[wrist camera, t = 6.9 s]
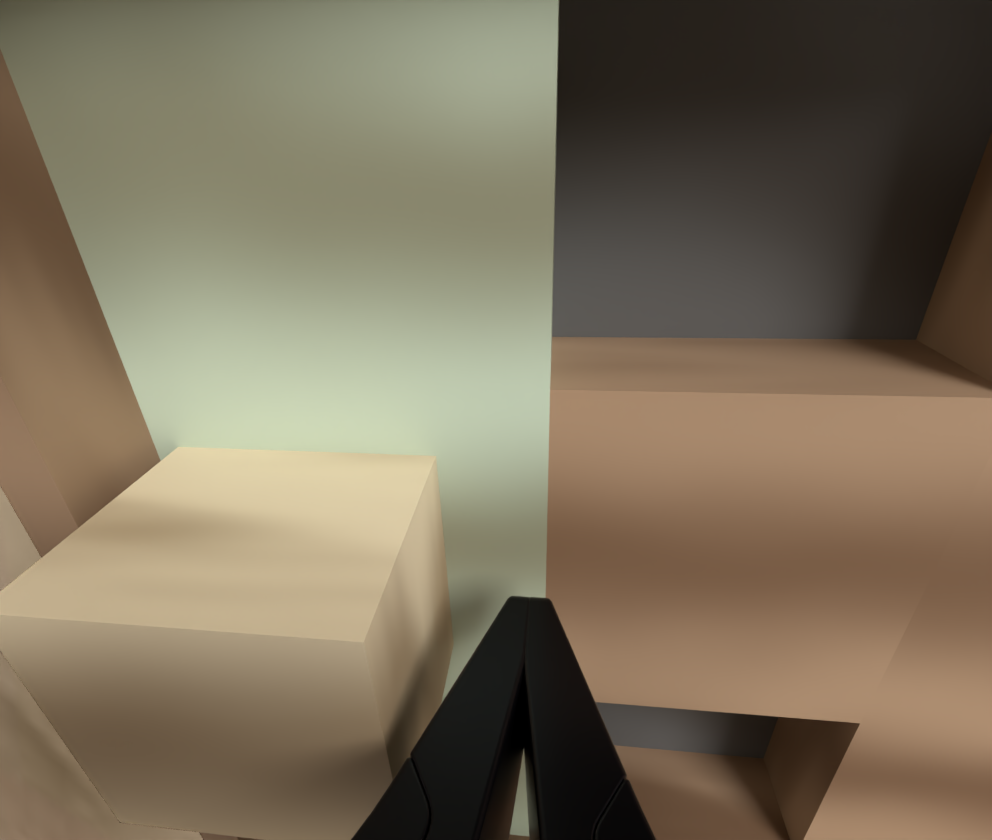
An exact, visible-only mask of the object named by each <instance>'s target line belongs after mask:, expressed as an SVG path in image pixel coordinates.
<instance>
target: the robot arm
mask: <svg viewBox="0 0 992 840" xmlns="http://www.w3.org/2000/svg"><path fill="white" fill-rule="evenodd" d="M523 750H524V758H525V774H526V791H527V807H528V824H529V840H656V838H655V836H654V834H653V832H652V829H651V827H650V825H649V823H648V821H647V819H646V817H645V814H644V812H643V810H642V808H641V806H640V804H639V801H638V799H637V797H636V794H635V792H634V790H633V787H632V785H631V783H630V781H629V780H628V779H626V778H627V774H626V772H625V770H624V767H623V765H622V763H621V760H620V758H619V756H618V753H617V751H616V749H615V746H614V744H613V742H612V739H611V737H610V735H609V733H608V730H607V728H606V726H605V723H604V721H603V719H602V716H601V714H600V712H599V709H598V707H597V705H596V702H595V700H594V698H593V696H592V693H591V691H590V689H589V686H588V684H587V682H586V679H585V677H584V675H583V672H582V670H581V668H580V665H579V663H578V661H577V659H576V656H575V654H574V652H573V649H572V647H571V645H570V642H569V640H568V638H567V635H566V633H565V631H564V628H563V626H562V624H561V622H560V619H559V617H558V615H557V612H556V610H555V608H554V605H553V603H552V601H551V600H550V599H549V598H541V597H525V596H510V597H509V598H508V599H507V600H506V602H505V603H504V605H503V606H502V608H501V610H500V611H499V613H498V614H497V616H496V618H495V619H494V621H493V622H492V624H491V626H490V627H489V629H488V630H487V632H486V633H485V635H484V637H483V638H482V640H481V641H480V643H479V645H478V646H477V648H476V649H475V651H474V653H473V654H472V656H471V657H470V659H469V660H468V662H467V664H466V665H465V667H464V668H463V670H462V672H461V673H460V675H459V676H458V678H457V680H456V681H455V683H454V684H453V686H452V688H451V689H450V691H449V692H448V694H447V695H446V697H445V699H444V700H443V702H442V703H441V705H440V707H439V708H438V710H437V711H436V713H435V715H434V716H433V718H432V719H431V721H430V722H429V724H428V726H427V727H426V729H425V730H424V732H423V734H422V735H421V737H420V738H419V740H418V742H417V743H416V745H415V746H414V748H413V749H412V751H411V753H410V757H411V758H410V757H408V758H407V759H406V760H405V762H404V763H403V765H402V767H401V768H400V770H399V771H398V773H397V774H396V776H395V778H394V779H393V781H392V782H391V784H390V785H389V787H388V788H387V790H386V791H385V793H384V794H383V796H382V797H381V799H380V800H379V802H378V803H377V805H376V806H375V808H374V809H373V811H372V812H371V813H370V815H369V816H368V817H367V819H366V820H365V821H364V823H363V824H362V825H361V827H360V828H359V829H358V831H357V832H356V833H355V835H354V836H353V837H352V839H351V840H509V836H510V830H511V824H512V817H513V811H514V805H515V799H516V793H517V787H518V781H519V775H520V769H521V762H522V756H523Z"/></svg>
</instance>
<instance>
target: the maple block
mask: <svg viewBox="0 0 992 840" xmlns="http://www.w3.org/2000/svg"><path fill="white" fill-rule="evenodd" d="M453 645H454V642H453V632H452V621H451V610H450V599H449V589H448V578H447V567H446V557H445V546H444V535H443V524H442V514H441V503H440V492H439V482H438V471H437V460H436V456H425V455H397V454H369V453H341V452H313V451H284V450H256V449H227V448H199V447H177V448H176V449H175V450H174V451H172V452H171V453H170V454H169V455H168V456H166V457H165V458H164V459H163V460H161V461H160V462H159V463H158V464H156V465H155V466H154V467H153V468H152V469H150V470H149V471H148V472H147V473H145V474H144V475H143V476H142V477H140V478H139V479H138V480H137V481H136V482H134V483H133V484H132V485H131V486H129V487H128V488H127V489H126V490H125V491H123V492H122V493H121V494H120V495H118V496H117V497H116V498H115V499H113V500H112V501H111V502H110V503H109V504H107V505H106V506H105V507H104V508H102V509H101V510H100V511H99V512H97V513H96V514H95V515H94V516H93V517H91V518H90V519H89V520H88V521H86V522H85V523H84V524H83V525H81V526H80V527H79V528H78V529H77V530H75V531H74V532H73V533H72V534H70V535H69V536H68V537H67V538H66V539H64V540H63V541H62V542H61V543H59V544H58V545H57V546H56V547H54V548H53V549H52V550H51V551H50V552H48V553H47V554H46V555H45V556H43V557H42V558H41V559H40V560H38V561H37V562H36V563H35V564H34V565H32V566H31V567H30V568H29V569H27V570H26V571H25V572H24V573H22V574H21V575H20V576H19V577H18V578H16V579H15V580H14V581H13V582H11V583H10V584H9V585H8V586H7V587H5V588H4V589H3V590H2V591H0V651H1V653H2V654H3V655H4V657H5V658H6V660H7V661H8V663H9V664H10V665H11V667H12V668H13V670H14V671H15V673H16V674H17V676H18V677H19V678H20V680H21V681H22V683H23V684H24V686H25V687H26V688H27V690H28V691H29V693H30V694H31V696H32V697H33V699H34V700H35V701H36V703H37V704H38V706H39V707H40V709H41V710H42V711H43V713H44V714H45V716H46V717H47V719H48V720H49V722H50V723H51V724H52V726H53V727H54V729H55V730H56V732H57V733H58V734H59V736H60V737H61V739H62V740H63V742H64V743H65V745H66V746H67V747H68V749H69V750H70V752H71V753H72V755H73V756H74V757H75V759H76V760H77V762H78V763H79V765H80V766H81V768H82V769H83V770H84V772H85V773H86V775H87V776H88V778H89V779H90V780H91V782H92V783H93V785H94V786H95V788H96V789H97V791H98V792H99V793H100V795H101V796H102V798H103V799H104V801H105V802H106V803H107V805H108V806H109V808H110V809H111V811H112V812H113V814H114V815H115V816H116V818H117V819H118V821H119V822H120V823H126V824H134V825H143V826H151V827H160V828H168V829H176V830H185V831H193V832H202V833H210V834H219V835H227V836H235V837H244V838H252V839H261V840H351V839H352V837H353V836H354V835H355V833H356V832H357V831H358V829H359V828H360V827H361V825H362V824H363V823H364V821H365V820H366V819H367V817H368V816H369V815H370V813H371V812H372V811H373V809H374V808H375V806H376V805H377V803H378V802H379V800H380V799H381V797H382V796H383V794H384V793H385V791H386V790H387V788H388V787H389V785H390V784H391V782H392V781H393V779H394V778H395V776H396V774H397V773H398V771H399V770H400V768H401V767H402V765H403V763H404V762H405V760H406V759H407V758H408V757H410V753H411V751H412V749H413V748H414V746H415V745H416V743H417V742H418V740H419V738H420V737H421V735H422V734H423V732H424V730H425V729H426V727H427V726H428V724H429V722H430V721H431V719H432V718H433V716H434V715H435V713H436V711H437V710H438V708H439V707H440V705H441V703H442V698H443V693H444V688H445V684H446V679H447V674H448V669H449V664H450V660H451V655H452V650H453ZM410 758H411V757H410Z"/></svg>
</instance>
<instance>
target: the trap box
mask: <svg viewBox="0 0 992 840" xmlns="http://www.w3.org/2000/svg"><path fill="white" fill-rule="evenodd" d="M177 447H199V448H227V449H256V450H284V451H313V452H341V453H369V454H397V455H425V456H436V460H437V471H438V482H439V492H440V503H441V514H442V524H443V535H444V546H445V557H446V567H447V578H448V589H449V599H450V610H451V621H452V632H453V642H454V645H453V650H452V655H451V660H450V664H449V669H448V674H447V679H446V684H445V688H444V693H443V698H442V702H443V700H444V699H445V697H446V695H447V694H448V692H449V691H450V689H451V688H452V686H453V684H454V683H455V681H456V680H457V678H458V676H459V675H460V673H461V672H462V670H463V668H464V667H465V665H466V664H467V662H468V660H469V659H470V657H471V656H472V654H473V653H474V651H475V649H476V648H477V646H478V645H479V643H480V641H481V640H482V638H483V637H484V635H485V633H486V632H487V630H488V629H489V627H490V626H491V624H492V622H493V621H494V619H495V618H496V616H497V614H498V613H499V611H500V610H501V608H502V606H503V605H504V603H505V602H506V600H507V599H508V598H509V597H510V596H525V597H541V598H549V599H550V600H551V601H552V603H553V605H554V608H555V610H556V612H557V615H558V617H559V619H560V622H561V624H562V626H563V628H564V631H565V633H566V635H567V638H568V640H569V642H570V645H571V647H572V649H573V652H574V654H575V656H576V659H577V661H578V663H579V665H580V668H581V670H582V672H583V675H584V677H585V679H586V682H587V684H588V686H589V689H590V691H591V693H592V696H593V698H594V700H595V702H596V705H597V707H598V709H599V712H600V714H601V716H602V719H603V721H604V723H605V726H606V728H607V730H608V733H609V735H610V737H611V739H612V742H613V744H614V746H615V749H616V751H617V753H618V756H619V758H620V760H621V763H622V765H623V767H624V770H625V772H626V774H627V778H626V779H628V780H629V781H630V783H631V785H632V787H633V790H634V792H635V794H636V797H637V799H638V801H639V804H640V806H641V808H642V810H643V812H644V814H645V817H646V819H647V821H648V823H649V825H650V827H651V829H652V832H653V834H654V836H655V838H656V840H992V0H0V486H1V488H2V490H3V491H4V493H5V495H6V497H7V498H8V500H9V502H10V504H11V505H12V507H13V509H14V511H15V512H16V514H17V516H18V518H19V519H20V521H21V523H22V525H23V526H24V528H25V530H26V532H27V533H28V535H29V537H30V538H31V540H32V542H33V544H34V545H35V547H36V549H37V551H38V552H39V554H40V556H41V558H42V557H43V556H45V555H46V554H47V553H48V552H50V551H51V550H52V549H53V548H54V547H56V546H57V545H58V544H59V543H61V542H62V541H63V540H64V539H66V538H67V537H68V536H69V535H70V534H72V533H73V532H74V531H75V530H77V529H78V528H79V527H80V526H81V525H83V524H84V523H85V522H86V521H88V520H89V519H90V518H91V517H93V516H94V515H95V514H96V513H97V512H99V511H100V510H101V509H102V508H104V507H105V506H106V505H107V504H109V503H110V502H111V501H112V500H113V499H115V498H116V497H117V496H118V495H120V494H121V493H122V492H123V491H125V490H126V489H127V488H128V487H129V486H131V485H132V484H133V483H134V482H136V481H137V480H138V479H139V478H140V477H142V476H143V475H144V474H145V473H147V472H148V471H149V470H150V469H152V468H153V467H154V466H155V465H156V464H158V463H159V462H160V461H161V460H163V459H164V458H165V457H166V456H168V455H169V454H170V453H171V452H172V451H174V450H175V449H176V448H177ZM199 833H200V835H201V836H202V838H203V840H261V839H252V838H244V837H235V836H227V835H219V834H210V833H202V832H199ZM509 840H529V824H528V807H527V791H526V774H525V758H524V750H523V756H522V762H521V769H520V775H519V781H518V787H517V793H516V799H515V805H514V811H513V817H512V824H511V830H510V836H509Z"/></svg>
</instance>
